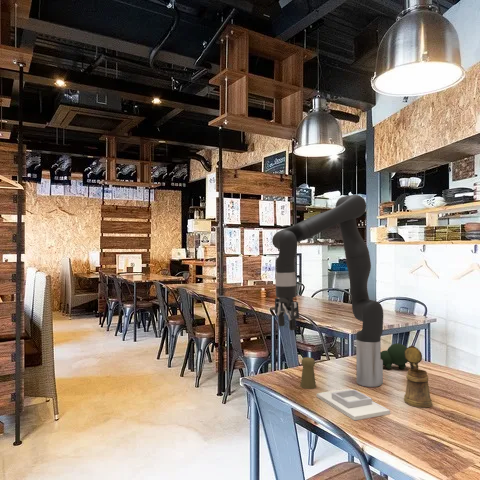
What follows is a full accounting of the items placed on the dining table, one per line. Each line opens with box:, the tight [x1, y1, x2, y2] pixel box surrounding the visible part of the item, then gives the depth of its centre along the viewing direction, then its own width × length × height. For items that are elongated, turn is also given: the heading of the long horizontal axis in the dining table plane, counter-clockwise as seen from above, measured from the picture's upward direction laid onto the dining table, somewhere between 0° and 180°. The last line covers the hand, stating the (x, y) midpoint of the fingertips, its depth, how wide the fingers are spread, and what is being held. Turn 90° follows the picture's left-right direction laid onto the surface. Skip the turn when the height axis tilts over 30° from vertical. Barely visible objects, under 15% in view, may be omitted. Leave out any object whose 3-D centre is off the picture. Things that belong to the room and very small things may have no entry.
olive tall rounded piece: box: [299, 356, 317, 390], centre depth 163 cm, size 6×6×11 cm
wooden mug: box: [403, 344, 433, 409], centre depth 148 cm, size 9×14×18 cm, turn 170°
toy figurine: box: [381, 342, 409, 370], centre depth 187 cm, size 9×19×25 cm
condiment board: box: [316, 388, 391, 421], centre depth 144 cm, size 14×22×3 cm, turn 22°
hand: (286, 327), depth 155 cm, fingers open, 8 cm apart
